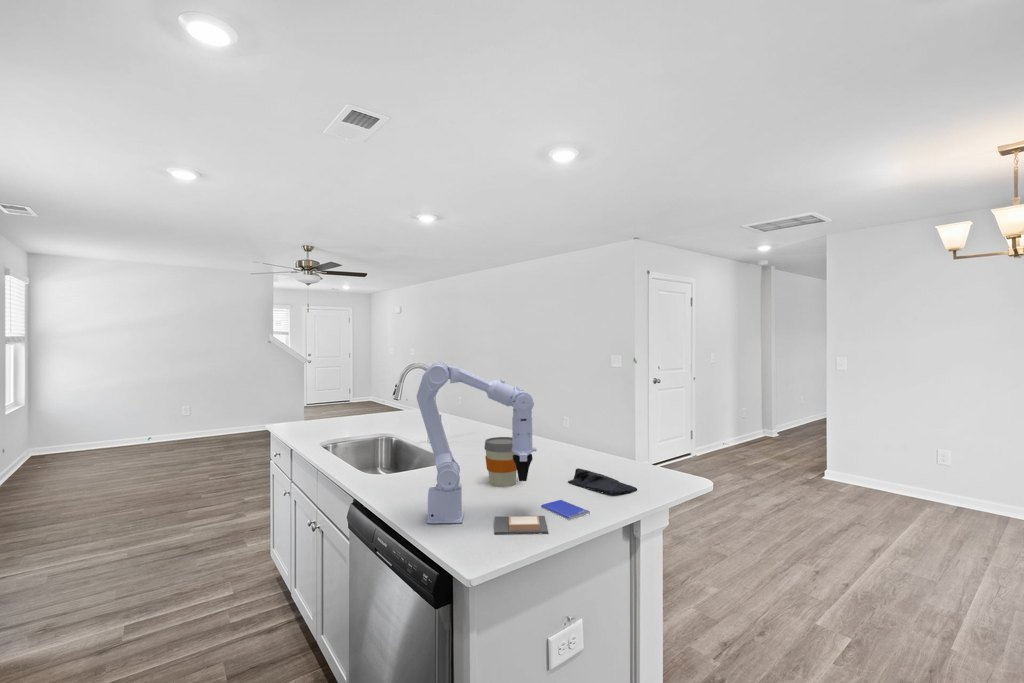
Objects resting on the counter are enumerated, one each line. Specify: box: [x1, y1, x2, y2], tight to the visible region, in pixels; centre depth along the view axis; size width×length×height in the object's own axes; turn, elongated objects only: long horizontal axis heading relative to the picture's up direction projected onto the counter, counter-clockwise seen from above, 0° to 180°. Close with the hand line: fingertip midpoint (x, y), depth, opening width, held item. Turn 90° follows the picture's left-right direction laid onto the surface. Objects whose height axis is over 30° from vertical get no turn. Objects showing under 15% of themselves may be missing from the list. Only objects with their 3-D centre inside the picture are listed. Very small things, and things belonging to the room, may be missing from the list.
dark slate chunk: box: [567, 467, 638, 496], centre depth 163 cm, size 15×22×5 cm
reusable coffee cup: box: [484, 436, 517, 488], centre depth 167 cm, size 13×13×15 cm
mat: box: [493, 515, 549, 535], centre depth 128 cm, size 14×11×1 cm
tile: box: [508, 515, 540, 531], centre depth 126 cm, size 8×2×6 cm
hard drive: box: [540, 499, 591, 521], centre depth 139 cm, size 2×8×12 cm
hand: (522, 480), depth 136 cm, fingers closed
